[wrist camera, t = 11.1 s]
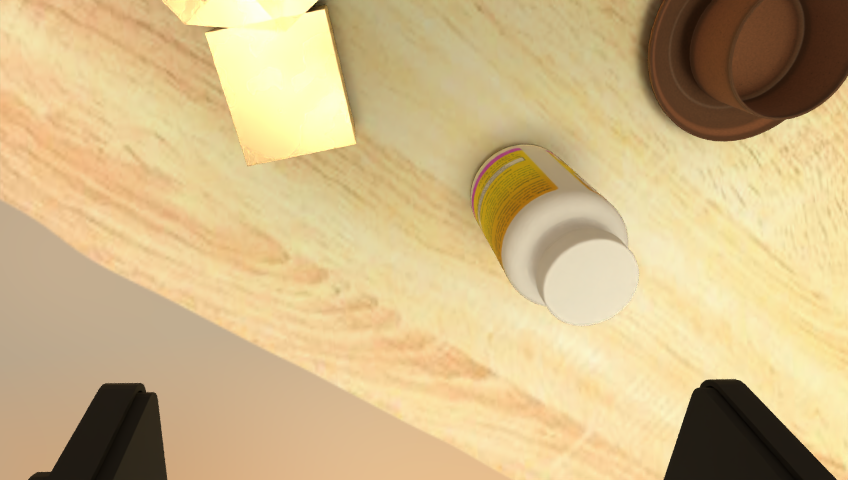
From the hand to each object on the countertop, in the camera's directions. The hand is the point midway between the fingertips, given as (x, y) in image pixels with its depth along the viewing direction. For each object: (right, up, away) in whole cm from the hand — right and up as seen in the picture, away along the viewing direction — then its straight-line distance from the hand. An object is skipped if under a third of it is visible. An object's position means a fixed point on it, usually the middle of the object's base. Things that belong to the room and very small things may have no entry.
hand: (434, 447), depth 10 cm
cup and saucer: (+19, +16, +27) cm, 37 cm away
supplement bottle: (+6, +7, +29) cm, 31 cm away
